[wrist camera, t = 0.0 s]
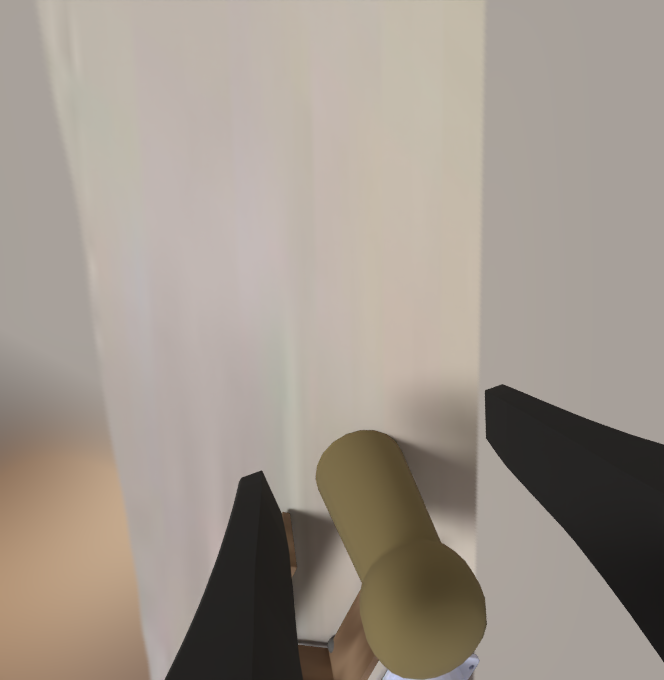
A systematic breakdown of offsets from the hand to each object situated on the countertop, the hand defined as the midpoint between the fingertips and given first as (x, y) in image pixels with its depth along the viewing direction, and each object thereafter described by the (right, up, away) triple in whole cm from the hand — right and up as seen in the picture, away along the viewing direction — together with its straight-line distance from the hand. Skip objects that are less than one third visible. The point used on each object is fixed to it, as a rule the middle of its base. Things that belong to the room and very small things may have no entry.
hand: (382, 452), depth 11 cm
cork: (0, -5, +13) cm, 14 cm away
